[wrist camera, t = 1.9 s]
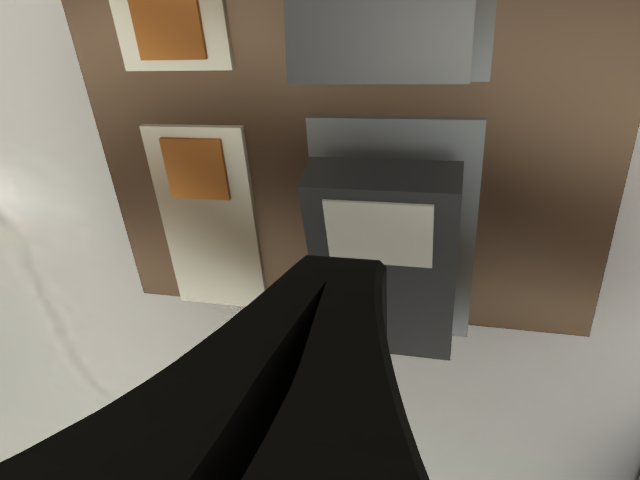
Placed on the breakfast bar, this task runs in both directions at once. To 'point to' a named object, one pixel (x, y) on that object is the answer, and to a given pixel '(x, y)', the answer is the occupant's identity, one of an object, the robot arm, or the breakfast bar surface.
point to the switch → (393, 236)
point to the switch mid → (379, 41)
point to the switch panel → (366, 146)
